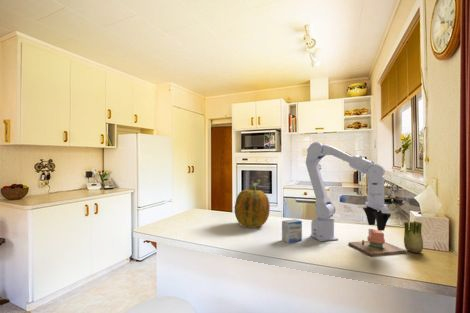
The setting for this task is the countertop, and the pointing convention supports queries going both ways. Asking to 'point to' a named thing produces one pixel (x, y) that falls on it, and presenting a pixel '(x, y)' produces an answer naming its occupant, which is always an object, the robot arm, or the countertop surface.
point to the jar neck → (375, 245)
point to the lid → (376, 236)
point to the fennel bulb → (413, 237)
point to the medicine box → (292, 230)
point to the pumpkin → (252, 207)
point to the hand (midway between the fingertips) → (376, 227)
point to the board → (372, 251)
